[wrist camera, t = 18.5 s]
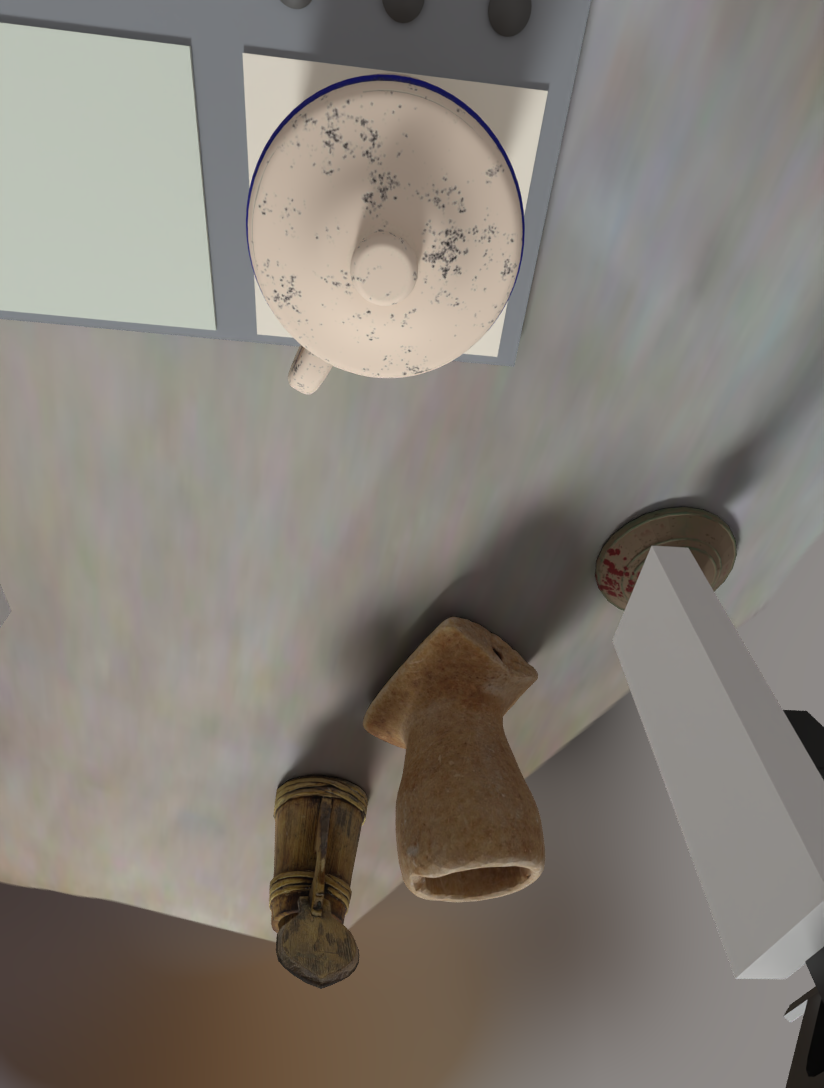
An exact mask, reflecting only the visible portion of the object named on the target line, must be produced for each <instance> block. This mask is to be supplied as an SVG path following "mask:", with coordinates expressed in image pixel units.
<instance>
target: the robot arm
mask: <svg viewBox="0 0 824 1088" xmlns="http://www.w3.org/2000/svg"><path fill="white" fill-rule="evenodd" d="M10 613H11V609H10V606H9V604H8V602H7V599H6V597H5V594H4V592H3V590H2V587H1V585H0V627H1V626H2V624H3V623H4V621H5V620H6V619H7V617H8V616H9V614H10ZM612 641H613V643H614V646H615V649H616V652H617V654H618V657H619V660H620V663H621V665H622V668H623V671H624V674H625V676H626V679H627V682H628V685H629V687H630V690H631V693H632V696H633V698H634V701H635V704H636V707H637V709H638V712H639V715H640V718H641V720H642V723H643V726H644V729H645V731H646V734H647V737H648V740H649V742H650V745H651V748H652V750H653V753H654V756H655V759H656V761H657V764H658V767H659V770H660V772H661V775H662V778H663V781H664V783H665V786H666V789H667V792H668V794H669V797H670V800H671V803H672V805H673V808H674V811H675V814H676V817H677V819H678V822H679V825H680V828H681V830H682V832H683V836H684V839H685V841H686V844H687V847H688V850H689V852H690V855H691V858H692V860H693V863H694V866H695V869H696V872H697V874H698V877H699V880H700V882H701V885H702V888H703V891H704V894H705V896H706V899H707V902H708V905H709V907H710V910H711V913H712V915H713V918H714V921H715V924H716V927H717V929H718V932H719V935H720V938H721V940H722V943H723V945H724V949H725V951H726V954H727V957H728V960H729V962H730V965H731V968H732V971H733V973H734V976H735V978H736V979H786V978H788V977H789V976H790V975H791V974H792V973H794V972H795V971H797V970H798V969H799V968H800V967H802V966H803V965H804V964H807V967H808V969H809V971H810V974H811V976H812V978H813V980H814V983H815V985H816V987H814V988H813V989H811V990H810V991H809V992H807V993H806V994H804V995H803V996H802V997H800V998H799V999H798V1000H796V1001H795V1002H793V1003H792V1004H791V1005H790V1006H789V1008H788V1009H787V1011H786V1013H785V1015H784V1018H786V1019H787V1020H788V1021H790V1022H793V1021H794V1020H796V1019H797V1018H798V1017H800V1016H801V1015H803V1014H804V1016H803V1020H802V1024H801V1029H800V1032H799V1036H798V1040H797V1044H796V1048H795V1052H794V1056H793V1061H792V1064H791V1069H790V1072H789V1077H788V1080H787V1084H786V1088H824V727H823V726H822V725H821V724H820V723H819V722H818V721H817V720H816V719H815V718H813V717H812V716H811V715H810V714H809V713H808V712H807V711H795V710H782V708H781V706H780V704H779V703H778V701H777V699H776V698H775V696H774V694H773V692H772V691H771V689H770V687H769V685H768V684H767V682H766V680H765V679H764V677H763V675H762V673H761V672H760V670H759V668H758V667H757V665H756V663H755V661H754V660H753V658H752V656H751V655H750V653H749V651H748V649H747V648H746V646H745V644H744V642H743V641H742V639H741V637H740V636H739V634H738V632H737V630H736V629H735V627H734V625H733V624H732V622H731V620H730V618H729V617H728V615H727V613H726V612H725V610H724V608H723V606H722V605H721V603H720V601H719V599H718V598H717V596H716V594H715V593H714V591H713V589H712V587H711V586H710V584H709V582H708V581H707V579H706V577H705V575H704V574H703V572H702V570H701V569H700V567H699V565H698V563H697V562H696V560H695V558H694V556H693V555H692V553H691V551H690V550H689V548H684V547H668V546H651V548H650V551H649V553H648V555H647V558H646V560H645V563H644V565H643V567H642V570H641V572H640V575H639V577H638V580H637V582H636V584H635V587H634V589H633V592H632V594H631V596H630V599H629V601H628V604H627V606H626V609H625V611H624V613H623V616H622V618H621V621H620V623H619V625H618V628H617V630H616V633H615V635H614V637H613V640H612Z"/></svg>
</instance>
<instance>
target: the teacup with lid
mask: <svg viewBox="0 0 824 1088" xmlns="http://www.w3.org/2000/svg"><path fill="white" fill-rule="evenodd" d="M524 236H525V222H524V209H523V203H522V196H521V192H520V188H519V184H518V181H517V178H516V175H515V172H514V169H513V167H512V165H511V162H510V160H509V158H508V156H507V154H506V152H505V150H504V149H503V147H502V145H501V143H500V142H499V140H498V139H497V137H496V136H495V134H494V133H493V132H492V130H491V129H490V128H489V126H488V125H487V124H486V123H485V122H484V121H483V120H482V119H481V118H480V117H479V115H478V114H477V113H475V112H474V111H473V110H472V109H471V108H470V107H469V106H467V105H466V104H465V103H464V102H462V101H461V100H459V99H458V98H457V97H455V96H454V95H452V94H450V93H449V92H447V91H445V90H443V89H441V88H439V87H437V86H435V85H432V84H430V83H428V82H426V81H424V80H421V79H419V78H416V77H412V76H409V75H404V74H397V73H378V74H371V75H365V76H359V77H354V78H350V79H346V80H343V81H340V82H337V83H334V84H332V85H330V86H328V87H326V88H324V89H322V90H320V91H318V92H316V93H315V94H313V95H312V96H310V97H309V98H307V99H306V100H304V101H303V102H302V103H301V104H299V105H298V106H297V107H296V108H295V109H293V110H292V111H291V112H290V114H289V115H288V116H287V117H286V118H285V119H284V120H283V121H282V122H281V123H280V125H279V126H278V127H277V129H276V130H275V131H274V132H273V134H272V135H271V137H270V139H269V140H268V142H267V144H266V145H265V147H264V149H263V151H262V153H261V155H260V158H259V160H258V162H257V165H256V168H255V170H254V173H253V176H252V180H251V184H250V188H249V193H248V200H247V208H246V237H247V245H248V252H249V256H250V261H251V265H252V268H253V272H254V275H255V278H256V280H257V283H258V285H259V288H260V290H261V292H262V294H263V296H264V298H265V300H266V302H267V304H268V305H269V307H270V309H271V310H272V312H273V313H274V315H275V316H276V318H277V319H278V320H279V322H280V323H281V324H282V326H283V327H284V328H285V329H286V330H287V331H288V333H289V334H290V335H291V336H292V337H293V338H294V339H295V340H296V341H297V342H298V343H300V344H301V345H300V347H299V349H298V351H297V354H296V356H295V358H294V361H293V363H292V366H291V368H290V371H289V375H288V381H289V384H290V385H291V386H292V387H293V388H294V389H296V390H298V391H300V392H302V393H304V394H312V393H313V392H315V391H316V390H317V389H318V388H319V387H320V385H321V384H322V382H323V381H324V380H325V378H326V376H327V375H328V373H329V371H330V370H331V368H332V366H335V367H337V368H340V369H342V370H345V371H348V372H351V373H354V374H358V375H363V376H368V377H377V378H400V377H408V376H414V375H418V374H422V373H426V372H429V371H431V370H434V369H437V368H439V367H441V366H443V365H445V364H447V363H449V362H451V361H453V360H454V359H456V358H458V357H459V356H461V355H462V354H463V353H465V352H466V351H467V350H469V349H470V348H471V347H472V346H473V345H474V344H476V343H477V342H478V341H479V340H480V339H481V338H482V337H483V336H484V334H485V333H486V332H487V331H488V330H489V329H490V328H491V326H492V325H493V324H494V323H495V321H496V320H497V318H498V317H499V315H500V314H501V312H502V311H503V309H504V307H505V305H506V303H507V302H508V300H509V298H510V296H511V293H512V291H513V288H514V286H515V283H516V280H517V277H518V274H519V271H520V266H521V261H522V257H523V249H524Z"/></svg>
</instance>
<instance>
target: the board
mask: <svg viewBox="0 0 824 1088" xmlns="http://www.w3.org/2000/svg"><path fill="white" fill-rule="evenodd" d="M590 4H591V0H0V319H8V320H19V321H30V322H41V323H51V324H62V325H73V326H84V327H94V328H105V329H116V330H127V331H137V332H148V333H159V334H170V335H180V336H191V337H202V338H213V339H224V340H234V341H245V342H256V343H267V344H277V345H288V346H299V347H300V345H301V344H300V343H298V342H297V341H296V340H295V339H294V338H293V337H292V336H291V335H290V334H289V333H288V331H287V330H286V329H285V328H284V327H283V326H282V324H281V323H280V322H279V320H278V319H277V318H276V316H275V315H274V313H273V312H272V310H271V309H270V307H269V305H268V304H267V302H266V300H265V298H264V296H263V294H262V292H261V290H260V288H259V285H258V283H257V280H256V278H255V275H254V272H253V268H252V265H251V261H250V256H249V252H248V245H247V237H246V208H247V200H248V193H249V188H250V184H251V180H252V176H253V173H254V170H255V168H256V165H257V162H258V160H259V158H260V155H261V153H262V151H263V149H264V147H265V145H266V144H267V142H268V140H269V139H270V137H271V135H272V134H273V132H274V131H275V130H276V129H277V127H278V126H279V125H280V123H281V122H282V121H283V120H284V119H285V118H286V117H287V116H288V115H289V114H290V112H291V111H292V110H293V109H295V108H296V107H297V106H298V105H299V104H301V103H302V102H303V101H304V100H306V99H307V98H309V97H310V96H312V95H313V94H315V93H316V92H318V91H320V90H322V89H324V88H326V87H328V86H330V85H332V84H334V83H337V82H340V81H343V80H346V79H350V78H354V77H359V76H365V75H371V74H378V73H397V74H404V75H409V76H412V77H416V78H419V79H421V80H424V81H426V82H428V83H430V84H432V85H435V86H437V87H439V88H441V89H443V90H445V91H447V92H449V93H450V94H452V95H454V96H455V97H457V98H458V99H459V100H461V101H462V102H464V103H465V104H466V105H467V106H469V107H470V108H471V109H472V110H473V111H474V112H475V113H477V114H478V115H479V117H480V118H481V119H482V120H483V121H484V122H485V123H486V124H487V125H488V126H489V128H490V129H491V130H492V132H493V133H494V134H495V136H496V137H497V139H498V140H499V142H500V143H501V145H502V147H503V149H504V150H505V152H506V154H507V156H508V158H509V160H510V162H511V165H512V167H513V169H514V172H515V175H516V178H517V181H518V184H519V188H520V192H521V196H522V203H523V209H524V222H525V236H524V249H523V257H522V261H521V266H520V271H519V274H518V277H517V280H516V283H515V286H514V288H513V291H512V293H511V296H510V298H509V300H508V302H507V303H506V305H505V307H504V309H503V311H502V312H501V314H500V315H499V317H498V318H497V320H496V321H495V323H494V324H493V325H492V326H491V328H490V329H489V330H488V331H487V332H486V333H485V334H484V336H483V337H482V338H481V339H480V340H479V341H478V342H477V343H476V344H474V345H473V346H472V347H471V348H470V349H469V350H467V351H466V352H465V353H463V354H462V355H461V356H459V357H458V358H456V359H454V360H453V361H460V362H471V363H482V364H493V365H503V366H514V365H515V360H516V355H517V351H518V346H519V341H520V336H521V332H522V327H523V322H524V317H525V313H526V308H527V303H528V298H529V294H530V289H531V284H532V279H533V275H534V270H535V265H536V260H537V256H538V251H539V246H540V241H541V237H542V232H543V227H544V222H545V218H546V213H547V208H548V203H549V199H550V194H551V189H552V184H553V180H554V175H555V170H556V165H557V161H558V156H559V151H560V146H561V142H562V137H563V132H564V127H565V123H566V118H567V113H568V108H569V104H570V99H571V94H572V89H573V85H574V80H575V75H576V70H577V66H578V61H579V56H580V51H581V47H582V42H583V37H584V32H585V28H586V23H587V18H588V13H589V9H590Z"/></svg>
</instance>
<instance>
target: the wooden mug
mask: <svg viewBox="0 0 824 1088" xmlns="http://www.w3.org/2000/svg"><path fill="white" fill-rule="evenodd" d="M367 805H368V799H367V796H366V794H365V792H364V791H363V790H362V789H361V788H360V787H358V786H356V785H354V784H352V783H350V782H348V781H346V780H343V779H339V778H336V777H327V776H323V775H320V776H305V777H299V778H295V779H292V780H289V781H287V782H286V783H285V784H283V785H282V786H281V787H280V788H278V789H277V793H276V800H275V808H274V818H275V857H274V878H273V879H272V880H271V882H270V889H269V890H270V897H269V907H270V910H271V912H272V920H271V925H272V928H273V930H274V931H275V932H277V941H276V953H277V957H278V961H279V962H280V963H281V964H282V966H283V967H284V968H285V969H287V970H288V971H289V972H290V973H292V974H293V975H294V976H296V977H297V978H299V979H301V980H302V981H304V982H305V983H307V984H310V985H313V986H316V987H318V988H320V989H322V988H325V987H327V986H330V985H333V984H335V983H337V982H339V981H342V980H343V979H345V978H347V977H349V976H350V975H351V974H352V972H354V971H355V969H356V967H357V965H358V963H359V950H358V947H357V945H356V942H355V940H354V938H353V936H352V934H351V932H350V931H349V930H348V929H347V928H346V927H345V926H344V925H343V923H344V917H345V915H346V914H347V912H348V908H349V903H350V899H351V893H352V891H351V889H350V885H351V878H352V872H353V867H354V862H355V857H356V852H357V847H358V842H359V837H360V831H361V826H362V825H363V824H364V822H365V819H366V812H367Z"/></svg>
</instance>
